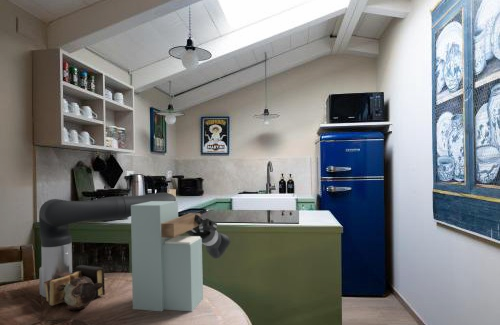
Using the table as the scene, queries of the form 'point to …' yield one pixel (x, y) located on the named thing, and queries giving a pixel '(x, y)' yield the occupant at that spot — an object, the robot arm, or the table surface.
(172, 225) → the walnut bar
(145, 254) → the stand
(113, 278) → the table surface
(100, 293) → the bookend
